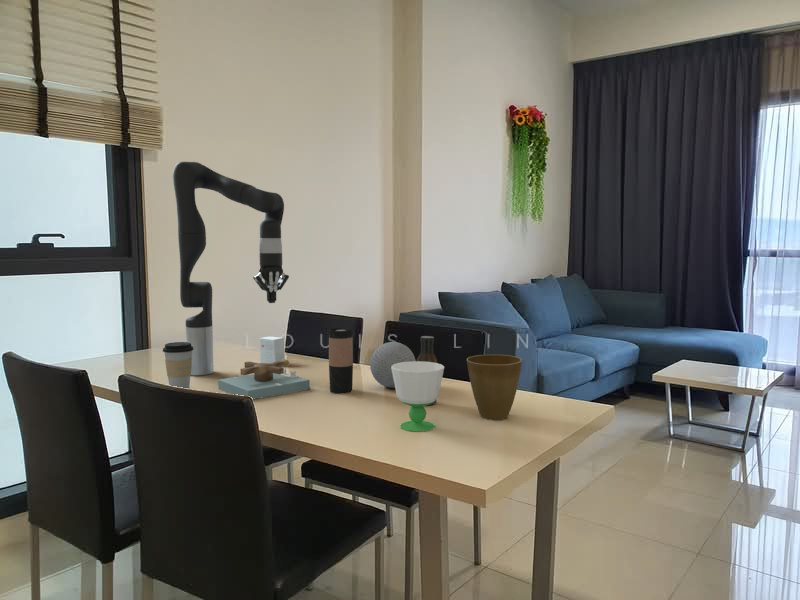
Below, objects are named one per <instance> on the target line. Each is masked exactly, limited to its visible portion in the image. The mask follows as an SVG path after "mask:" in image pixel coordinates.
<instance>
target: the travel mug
mask: <svg viewBox="0 0 800 600" xmlns="http://www.w3.org/2000/svg"><path fill="white" fill-rule="evenodd" d="M353 340H354V339H353V329H352V328H347V329H344V328H341V327H333V328H329V329H328V372H329V373H328V375H329V392H330V393H332V394H335V395H336V394H341V395H343V394H349V393H352V391H353V379H354V377H353V376H354V374H353V373H354V372H353V371H354V353H353V352H354V349H353V348H354V347H353V343H354V342H353Z"/></svg>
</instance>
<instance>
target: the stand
mask: <svg viewBox="0 0 800 600" xmlns="http://www.w3.org/2000/svg"><path fill="white" fill-rule="evenodd" d="M282 368H283V371H284V373H283V374H275V373H273V379H272V380H269V381H256V380H254V373H253V374H248V375H241V376H234V377H227V378H221V379H218V380H217V388H218V390H221V391H223V392H225V393H228V394H230V393H231V394H230V395H233V394H238V395H244V396H250V397H252V398H253V399H254V398H259V399H262V398H261V397H265V398H268V397H267V396H270V397H274V396H273V395H275V396H280V395H279V394H281V395H285V394H284V393H286V394H291V393H297V392H300V391H301V390H302V391H306V390H307V391H308V390H310V388H311V386H310V381H311V380H310V379H308V378H305V377H301V376H297V371H296V370H291V371H290V373H288V372H287V367H282ZM296 391H297V392H296ZM290 392H291V393H290ZM254 400H255V399H254Z"/></svg>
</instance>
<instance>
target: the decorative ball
mask: <svg viewBox="0 0 800 600" xmlns="http://www.w3.org/2000/svg"><path fill="white" fill-rule="evenodd" d="M412 361H416V357H415V355H414V353H413V352H412V349H410V348H409V347H408V346H407V345H406V344H402V343H401V342H397V341H389V342H385V343H383V344H381V345H380V346H378V347H377V348H376V349H375V351H374V352H373V354H372V355H371V358H370V364H369V366H370V367H369V369H370V372H371V374H372V377H373V378H374V379H375V381H377V383H378V384H380V385H381V386H383V387H386V388H388V389H389V388H390V389H395V384H394V379H393V374H392V369H391V367H392V365H393V364H397V363H401V362H412Z"/></svg>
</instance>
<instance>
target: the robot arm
mask: <svg viewBox="0 0 800 600" xmlns="http://www.w3.org/2000/svg"><path fill="white" fill-rule="evenodd" d="M172 182H173V188H174V189H173V190H174V194H175V201H176V202H175V203H176V214H177V215H176V216H177V235H178V238H177V239H178V248H179V249H178V250H179V264H180V265H179V266H180V267H179V269H180V270H179V271H180V274H179V275H180V277H179V278H180V282H179V286H180V287H179V290H180V291H179V295H180V302H181V303H180V304H181V305H182V307H183V308H196V309H197V308H202V311H201V312H199V313H197V314H195V315H192V316H190V317H188V318H186V319H185V342H189V343H191V346H193V349H194V350H192V367H191V375H190V376H204V375H210V374H213V373H215V371H214V370H215V369H214V366H215V365H214V338H213V337H214V332H213V331H214V330H213V328H214V327H213V287H212V283H210V282H208V281H191V274H192V273H193V270H194V267H195V266H196V263H197V262H198V261H199V259H200V258H201V256H202V254H203V253H204V251H205V249H206V246H207V236H206V235H207V233H206V231H207V230H206V224H205V222H204V220H203V217H202V216H201V213H200V212H199V210H198V206H197V204H196V194H195V193H196V192H195V191H196V189H205V190H209V191H210V190H211V191H214V192H216V193H218V194H221V195H222V196H224V197H225V198H227V199H228V200H230V201H233V202H236V203H238V204H241V205H244V206H248V207H250V208H252V209H254V210H256V211H258V212H261V213H264V219H263V220H262V221H261V222H260V224H259V247H258V249H259V250H258V251H259V269H258V270H259V271H258V273H257V274H256V275H254V276H253V277H252V278H253V280H254V281H255V283H256V284H257V285H258V287H259V288H260V289H261V290H262V291H265V292H266V300H267V301H266V302H268V303H269V304H275V303H276V301H277V292H278V291H280V290H282V289H283V287H284V286H285V284H286V283H287V282H288V280H289V278H290V276H289V274H285V272H284V269H283V244H282V243H283V242H282V229H281V228H282V222H283V217H284V213H285V202H284V199H283V197H282V195H280V194H279V193H277V192H272V191H266V190H262V189H260V188H257V187H256V186H254V185H252V184H249V183H246V182H242V181H240V180H237V179H234V178H230V177H229V176H225V175H224V174H221V173H219V172H217V171H215V170H214V169H211V168H209V167H207V166H206V165H203V164H202V163H201V162H197V161H180V162H177V163H176V164H175V165H174V167H173V171H172Z"/></svg>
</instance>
